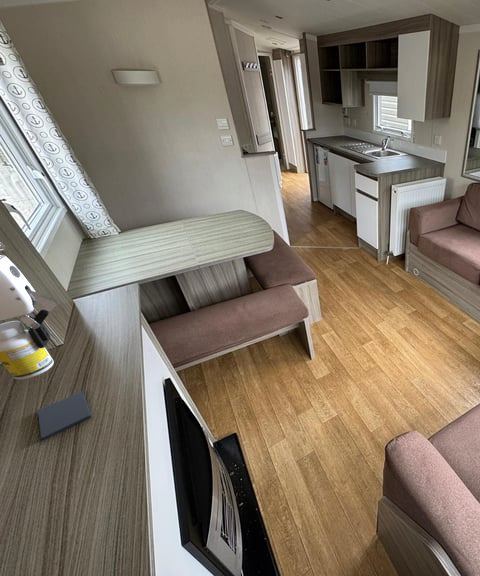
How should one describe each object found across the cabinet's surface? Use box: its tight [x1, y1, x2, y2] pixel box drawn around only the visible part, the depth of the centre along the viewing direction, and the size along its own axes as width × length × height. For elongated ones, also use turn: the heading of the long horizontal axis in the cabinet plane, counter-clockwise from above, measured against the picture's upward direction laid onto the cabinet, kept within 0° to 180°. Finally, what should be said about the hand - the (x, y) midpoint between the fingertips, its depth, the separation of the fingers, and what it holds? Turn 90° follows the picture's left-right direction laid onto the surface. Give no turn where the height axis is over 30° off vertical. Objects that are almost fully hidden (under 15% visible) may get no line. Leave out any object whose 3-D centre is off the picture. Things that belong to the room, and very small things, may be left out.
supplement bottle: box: [0, 320, 55, 380], centre depth 54 cm, size 5×5×10 cm
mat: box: [37, 390, 92, 441], centre depth 62 cm, size 10×7×1 cm
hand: (20, 349), depth 54 cm, fingers closed on supplement bottle, 5 cm apart
